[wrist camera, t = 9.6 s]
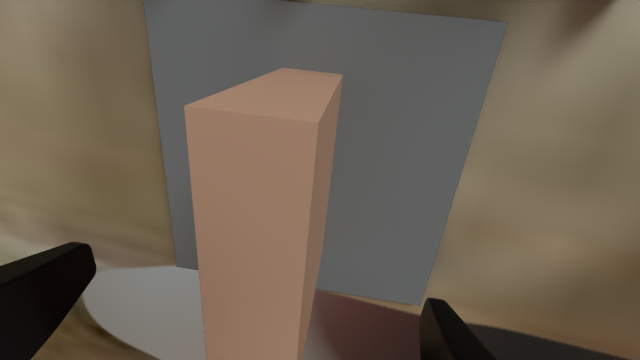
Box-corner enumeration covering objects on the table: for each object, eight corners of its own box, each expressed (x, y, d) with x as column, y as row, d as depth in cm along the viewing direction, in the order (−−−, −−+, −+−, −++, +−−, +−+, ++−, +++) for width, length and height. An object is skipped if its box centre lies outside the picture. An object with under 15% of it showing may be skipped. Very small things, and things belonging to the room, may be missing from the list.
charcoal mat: (502, 22, 12) (507, 22, 11) (418, 298, 18) (420, 305, 17) (149, -12, 13) (141, -13, 12) (181, 261, 19) (176, 266, 18)
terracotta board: (343, 74, 13) (318, 122, 6) (322, 252, 17) (291, 417, 9) (282, 67, 13) (183, 105, 6) (275, 245, 17) (210, 402, 10)
